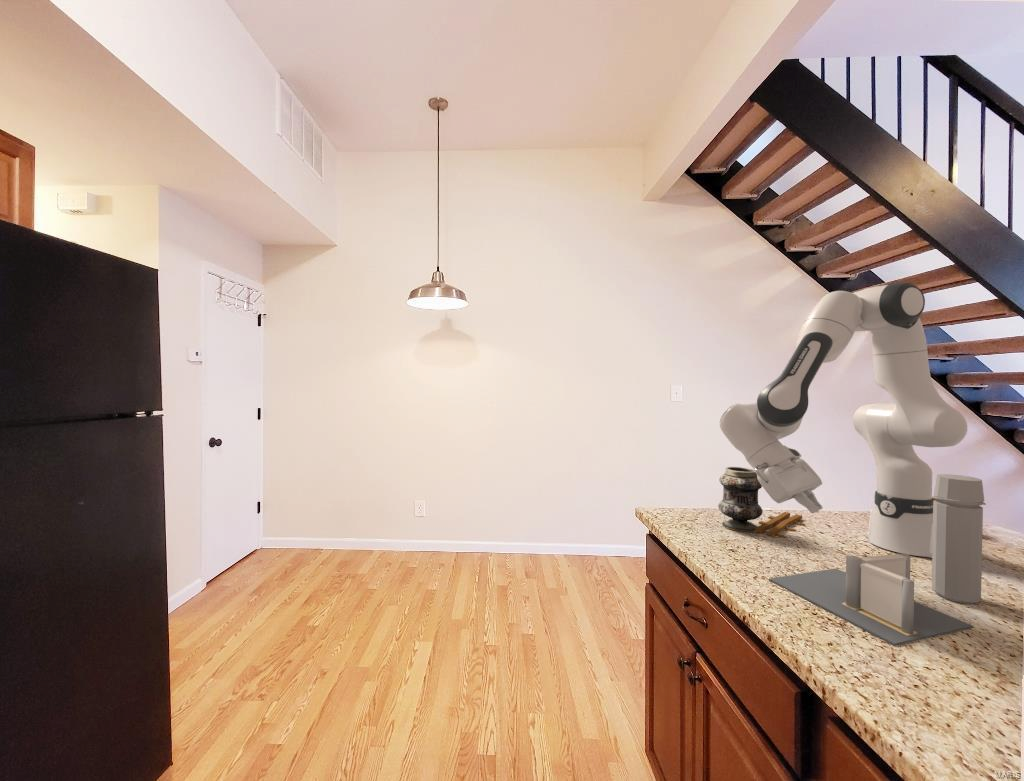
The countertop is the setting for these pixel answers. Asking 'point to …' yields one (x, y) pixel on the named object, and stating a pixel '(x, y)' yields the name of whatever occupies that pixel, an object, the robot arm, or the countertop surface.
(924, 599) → the countertop surface
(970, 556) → the water bottle
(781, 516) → the decorative fence
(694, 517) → the countertop surface
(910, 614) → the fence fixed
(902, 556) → the beige rectangular panel
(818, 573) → the mat
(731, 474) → the apothecary jar
